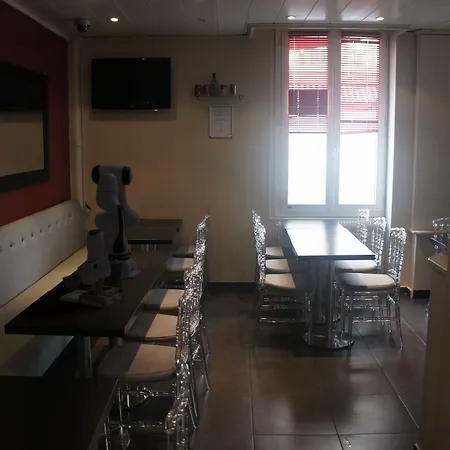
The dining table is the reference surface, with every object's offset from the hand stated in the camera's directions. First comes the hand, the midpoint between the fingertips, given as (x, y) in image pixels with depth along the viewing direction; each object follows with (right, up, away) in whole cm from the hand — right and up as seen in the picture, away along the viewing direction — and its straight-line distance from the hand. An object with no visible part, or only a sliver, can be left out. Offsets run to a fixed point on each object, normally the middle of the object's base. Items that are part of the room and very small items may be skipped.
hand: (97, 289), depth 280 cm
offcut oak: (+8, -5, +2) cm, 10 cm away
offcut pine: (+6, -6, -3) cm, 9 cm away
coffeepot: (+4, -3, +21) cm, 22 cm away
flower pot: (-18, -3, +19) cm, 27 cm away
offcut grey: (+4, -7, -7) cm, 11 cm away
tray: (-12, -5, +4) cm, 13 cm away
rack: (+2, -6, -1) cm, 6 cm away
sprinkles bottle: (0, -6, +1) cm, 6 cm away
